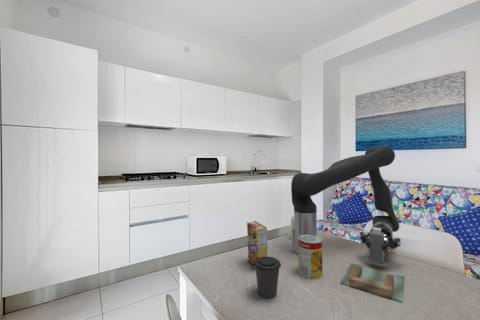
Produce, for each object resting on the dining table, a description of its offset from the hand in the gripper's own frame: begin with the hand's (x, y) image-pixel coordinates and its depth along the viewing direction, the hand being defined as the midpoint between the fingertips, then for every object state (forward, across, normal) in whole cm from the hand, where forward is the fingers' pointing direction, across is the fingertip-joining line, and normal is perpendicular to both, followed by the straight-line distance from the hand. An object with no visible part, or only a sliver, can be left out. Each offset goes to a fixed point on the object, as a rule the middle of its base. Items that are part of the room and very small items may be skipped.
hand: (376, 246), depth 80 cm
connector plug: (-3, 0, +6) cm, 7 cm away
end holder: (+7, 0, +8) cm, 11 cm away
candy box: (+21, -36, +9) cm, 43 cm away
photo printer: (-15, -34, +9) cm, 38 cm away
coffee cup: (+34, -24, +9) cm, 43 cm away
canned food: (+15, -18, +9) cm, 25 cm away
